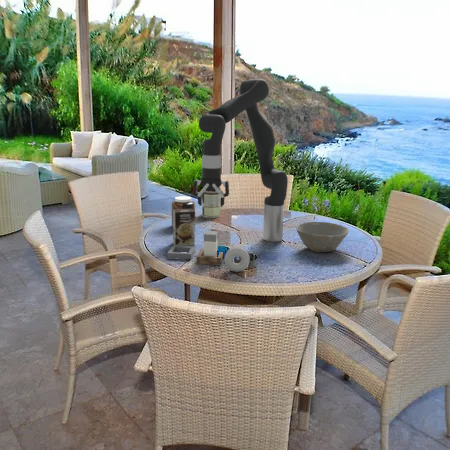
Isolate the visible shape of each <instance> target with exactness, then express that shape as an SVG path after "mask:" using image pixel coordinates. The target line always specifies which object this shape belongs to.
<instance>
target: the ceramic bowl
mask: <svg viewBox="0 0 450 450" xmlns="http://www.w3.org/2000/svg"><path fill="white" fill-rule="evenodd" d="M296 232H297V234H298V237H299V238H300V240H301V241H302V244H304V246H305V247H306V248H307V249H308V250H310V251H312V252H315V253H329V252H333V251H335V250H336V249H337V248H338V247H339V245H340V244H341V243H342V242H343V241H344V239H346V237H347V235H348V234H349V232H350V229H349V228H348V227H346V226H343V225H341V224H337V223H333V222H326V221H320V222H319V221H309V222H303V223H300V224H298V225H297V226H296Z"/></svg>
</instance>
